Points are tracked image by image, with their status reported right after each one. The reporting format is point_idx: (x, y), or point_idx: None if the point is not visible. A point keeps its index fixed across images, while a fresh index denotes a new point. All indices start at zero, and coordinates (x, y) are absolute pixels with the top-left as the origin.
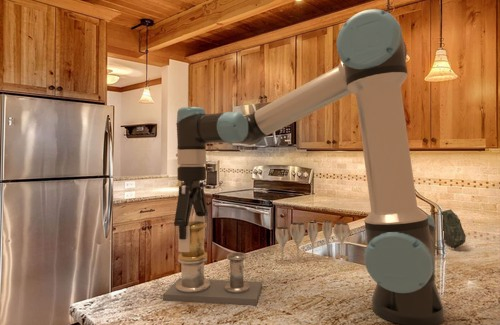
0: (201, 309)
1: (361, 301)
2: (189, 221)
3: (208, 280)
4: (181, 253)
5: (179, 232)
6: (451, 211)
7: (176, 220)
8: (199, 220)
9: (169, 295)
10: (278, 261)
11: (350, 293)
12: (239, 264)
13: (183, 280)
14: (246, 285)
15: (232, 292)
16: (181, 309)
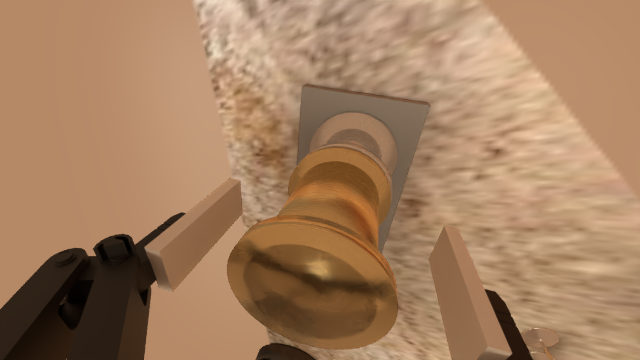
0: (270, 173)
1: (315, 348)
2: (389, 290)
3: (394, 187)
4: (320, 165)
5: (152, 232)
6: None
7: (46, 274)
8: (462, 335)
9: (301, 104)
10: (548, 334)
11: (340, 351)
12: None
13: (328, 141)
14: None
15: None
16: (265, 137)
